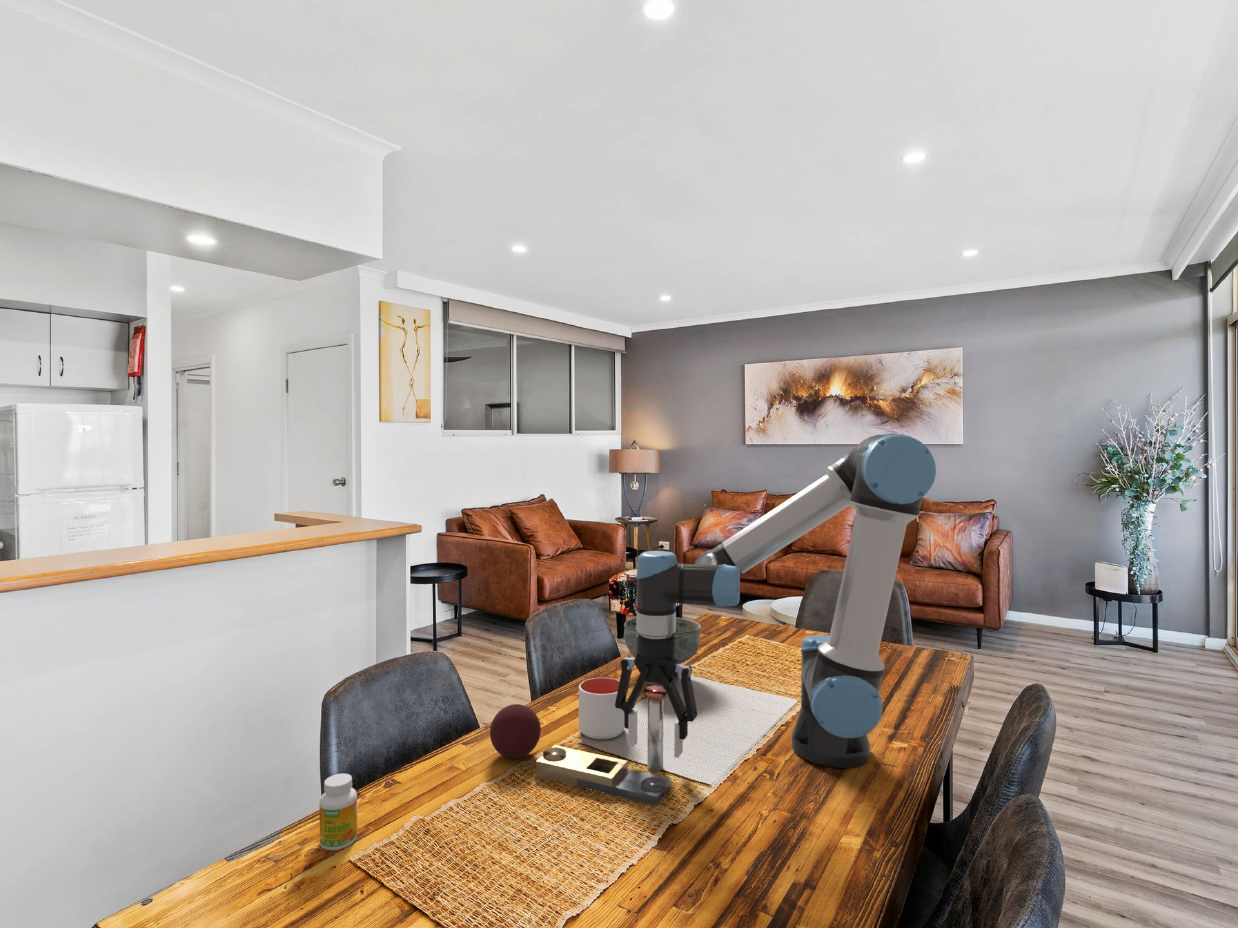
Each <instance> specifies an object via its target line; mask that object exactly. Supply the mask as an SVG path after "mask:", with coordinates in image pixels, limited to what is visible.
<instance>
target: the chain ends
mask: <svg viewBox="0 0 1238 928" xmlns="http://www.w3.org/2000/svg"><path fill="white" fill-rule="evenodd" d="M535 764H536V765H535V777H536V778H540V779H544V780H547V779H548V781H553V782H556V783H560V784H564V783H565V785H569V786H572V785H573V787H577V788H581V787H582V788H581V789H585V788H588V789H587V790H589V789H592V790H591V791H593V790H596V791H595V792H597V791H599V792H598V793H601V792H604V793H603V794H606V795H610V794H611V795H610V796H615V797H618V798H622V799H623V798H624V799H627V800H631V801H635V802H640V803H644V804H647V805H651V806H656V807H658V805H659V803H661V801H662V799H664V798H665V797H666V795H667V792H668V791H669V789H670V788H671V778H670V777H666V776H662V775H658V774H653V773H648V772H643V771H639V770H635V769H630V768H628V760H625V759H621V758H617V757H616V758H615V757H611V756H606V755H602V754H598V753H594V752H587V751H584V750H580V749H574V748H570V747H564V746H560V745H556V744H554V745H553V746H552V747H549V748H546V749H545V750H544V751H543V752H542V756H540V757H539V758H538V759H537V760H536V761H535Z"/></svg>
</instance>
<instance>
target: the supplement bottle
mask: <svg viewBox="0 0 1238 928" xmlns="http://www.w3.org/2000/svg"><path fill="white" fill-rule="evenodd" d="M323 790H324V793H322V795H321V796H320V799H319V843H320V846H321V848H322V849H324V850H328V851H338V850H342V849H345V848H347V847H349V846H351V845H352V844H353V843H354V842H355V841H356V839H357V838H358V795H357V791H356V789H355V788H354V787H353V777H352V775H351V774H349V773H337V774H333V775H331V776H328V777H327V778H326V779H325V780H324V783H323Z"/></svg>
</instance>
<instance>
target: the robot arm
mask: <svg viewBox="0 0 1238 928" xmlns="http://www.w3.org/2000/svg"><path fill="white" fill-rule="evenodd" d="M826 470H827V471H826V474H825V475H823V476H822V477H820V478H819V479H817V480H815V481H814V482H813V483H811V484H810V485H808V486H807V487H805V488H804V489H802V490H801V491H799V492H797V493H795V494H794V495H793V496H791V497H790V498H788V499H786V500H785V501H783V502H782V503H781V504H779V505H778V506H776V507H775V508H773V509H771V510H770V511H768V512H766V514H764V515H762V516H761V517H759V518H758V519H756V520H754V522H753V521H752V522H751V523H750V524H748V525H747V526H745V527H744V528H742V529H741V530H739V531H738V532H736V533H735V534H733V535H731V537H728V538H727V539H726V540H724V541H723V542H722V543H720V544H718V545H717V546H715V547H713V548H712V549H710V550H706V551H704V552H702V553H701V554H699V556H698V557H697V559H696V560H695V561H694V563H690V564H689V563H680V562H678V560H677V555H676V554H675V553H674V552H671V551H664V550H650V551H643V552H642V553H640V555H638V557H637V567H636V575H635V578H636V584H635V585H636V618H637V619H636V630H637V632H638V634H637V635H636V652H637V655H636V657H631V656H629V655H627V656H625V657H624V658H622V659H621V661H620V670H621V672H620V673H621V674H620V679H619V681H620V682H619V687H618V692H617V697H616V702H615V707H616V708H618V709H619V708H620V709H622V710H623V711H624V726H625V729H626V730H628V733H627V734H628V739H627V740H628V741H627V742H628V746H627V748H629V749H634V747H635V746H636V745H637V743H638V710H637V709H635V707H636V703H637V702H638V699H639V698H640V695H641V693H642V692H643V690H644V687H645V685H646V684H647V683H646V682H655V683H658V684H662V686H661V687H663V688H664V689H665V690H666V692H667V697H668V700H669V702H670V704H671V706H672V708H673V711H674V713H675V716H676V718H677V719H676V721H674V742H673V743H674V744H673V745H674V747H673V749H674V752H673V753H674V756H673V757H674V758H676V759H679V758H680V756H681V755H682V753H684V747H683V746H684V740H686V738H687V736H688V733H689V732H688V731H689V730H688V728H689V722H693V721H695V720H696V718H697V717H698V715H699V714H698V708H697V704H696V703H697V702H696V698H695V692H694V688H693V683H692V672H693V667H692V666H691V665H690V664H686V665H683V664H678V663H677V661H676V657H675V655H676V636H675V635H674V632H675V631H676V618H677V604H680V605H696V606H698V605H699V606H712V607H713V606H714V607H719V608H720V607H721V608H722V607H735V606H737V605H739V603H740V597H741V595H740V594H741V591H740V590H741V588H740V587H741V586H740V585H741V575H743V574H744V573H746V572H747V571H749V570H751V569H752V568H754V567H755V566H756V565H758V564H760V563H761V562H763V561H765V560H766V559H768V558H769V557H771V556H773V555H774V554H776V553H777V552H779V551H780V550H782V549H784V548H785V547H787V546H789V545H790V544H791V543H793V542H795V541H796V540H797V539H799V538H802V536H804V535H805V534H807V533H809V532H810V531H812V530H813V529H814V528H816V527H818V526H820V525H822V524H823V523H824V522H827V521H828V520H829V519H831V518H832V517H834V516H835V515H837V514H839V513H840V512H842V511H843V510H845V509H847V508H848V507H852V508H853V509H854V511H855V518H854V522H853V526H852V527H853V528H852V532H851V536H850V540H849V546H848V550H847V555H846V559H845V564H844V568H843V572H842V573H843V574H842V576H841V577H842V578H841V582H840V588H839V590H838V591H839V592H838V596H837V600H836V606H835V610H834V615H833V620H832V624H831V628H830V633H829V635H826V634H825V635H824V634H821V635H820V634H818V635H817V634H816V635H808V636H805V637H804V638H803V640H802V644H801V648H800V653H801V679H800V681H801V686H800V688H801V690H800V692H801V693H800V695H801V696H800V704H801V705H800V710H799V713H798V716H797V720H796V721H795V724H794V726H793V730H792V732H791V748H792V750H793V751H794V753H795V754H796V755H798V756H799V757H800V758H802V759H804V760H806V761H808V762H810V763H813V764H816V765H819V766H823V767H828V768H840V769H845V768H846V769H847V768H854V767H855V768H856V767H860V766H862V765H864V764H866V763H867V762H868V761H869V760H870V758H871V744H870V741H869V737H868V734H870V733H871V732H872V731H873V730H874V729H875V728H877V726H878V725H879V723H880V721H881V719H882V716H883V702H882V697H881V695H880V690H881V685H882V681H883V676H884V673H885V672H884V671H885V666H886V665H885V663H884V662H883V660H882V658H881V656H880V655H879V652H880V647H881V643H882V639H883V633H884V629H885V624H886V620H887V616H888V611H889V608H890V607H889V606H890V602H891V598H892V594H893V593H892V592H893V588H894V584H895V581H896V575H897V570H898V568H899V567H898V566H899V562H900V557H901V553H902V550H903V549H902V548H903V543H904V539H905V534H906V531H907V526H908V524H910V523H911V522H912V521H914V520H915V519H917V518H919V516H920V511H921V507H922V502H923V498H924V497H925V496H926V495H927V493H928V492H929V491H930V490H931V488H932V486H933V484H934V482H935V480H936V474H937V467H936V462H935V458H934V456H933V454H932V452H931V451H930V449H929V448H928V446H926V445H925V444H924V443H923V442H922V441H920V440H919V439H917V438H914V437H913V436H911V435H906V434H904V433H894V432H891V433H886V434H877V435H873V436H870V437H867V438H865V439H863V440H862V441H861V442H859V443H858V444H856V445H855V446H854V447H853V448H852V449H851V450H850V451H849V452H847V453H845V455H844V456H843V455H842V456H841V458H840V459H838V460H836V462H834V463H832V464H831V465H829V466H828V467H827V469H826ZM634 667H636V669H637V671H638V672H639V675H638V677H637V679H636V682H635V685H634V686H633V689H632V690H631V693H630V695H629V696H628V699H627V695H628V691H629V687H630V681H631V677H632V672H633V671H632V670H633V669H634ZM675 671H676V672H677V673H678V675H679V678H680V684H681V685H680V686H681V690H682V695H683V696H682V697H683V699H682V697H681V693H680V692H679V690H678V687H677V684H675V679H674V677H673V675H672V674H673V673H674V672H675ZM626 700H627V701H626ZM683 701H684V702H683Z"/></svg>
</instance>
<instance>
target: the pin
mask: <svg viewBox="0 0 1238 928" xmlns="http://www.w3.org/2000/svg"><path fill="white" fill-rule="evenodd" d="M643 694H644V695H643V696H644V697H645V698H646V699H647V756H646V757H647V762H646V763H647V766H646V767H647V769H648V768H649V769H648V770H649V771H651V770H652V771H653V772H659V771H662V770H663V769H664V699H666V698H667V697H668V695H667V692H666V690H665V689H664V688H663V686H655V685H651V686H647V687H645V688H643Z"/></svg>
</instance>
